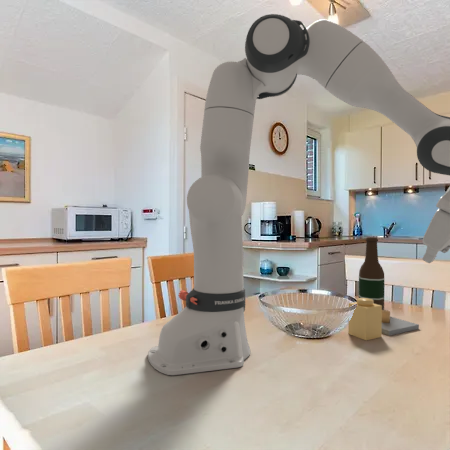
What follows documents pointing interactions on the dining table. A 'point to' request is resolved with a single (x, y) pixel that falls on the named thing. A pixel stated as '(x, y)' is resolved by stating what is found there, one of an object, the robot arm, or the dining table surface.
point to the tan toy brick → (366, 319)
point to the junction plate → (395, 324)
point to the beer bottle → (372, 274)
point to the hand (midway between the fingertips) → (434, 255)
